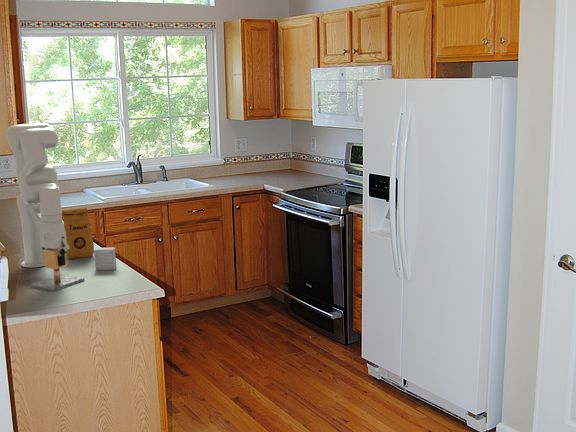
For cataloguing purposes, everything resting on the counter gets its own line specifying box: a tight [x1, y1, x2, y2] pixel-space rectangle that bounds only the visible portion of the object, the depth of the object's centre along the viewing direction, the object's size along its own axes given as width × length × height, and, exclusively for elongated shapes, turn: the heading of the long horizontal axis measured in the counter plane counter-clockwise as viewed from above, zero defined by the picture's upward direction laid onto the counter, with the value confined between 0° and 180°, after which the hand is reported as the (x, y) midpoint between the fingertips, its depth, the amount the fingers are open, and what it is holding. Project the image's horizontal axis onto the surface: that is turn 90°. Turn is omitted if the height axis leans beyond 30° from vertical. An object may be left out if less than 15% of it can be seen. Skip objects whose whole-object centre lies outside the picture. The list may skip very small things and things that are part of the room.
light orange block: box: [44, 249, 68, 270], centre depth 269 cm, size 6×6×7 cm
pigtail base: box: [29, 268, 85, 292], centre depth 271 cm, size 12×16×6 cm
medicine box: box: [93, 246, 117, 271], centre depth 291 cm, size 8×4×9 cm, turn 92°
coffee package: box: [61, 207, 95, 259], centre depth 310 cm, size 10×12×22 cm
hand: (56, 264), depth 270 cm, fingers closed on light orange block, 5 cm apart
